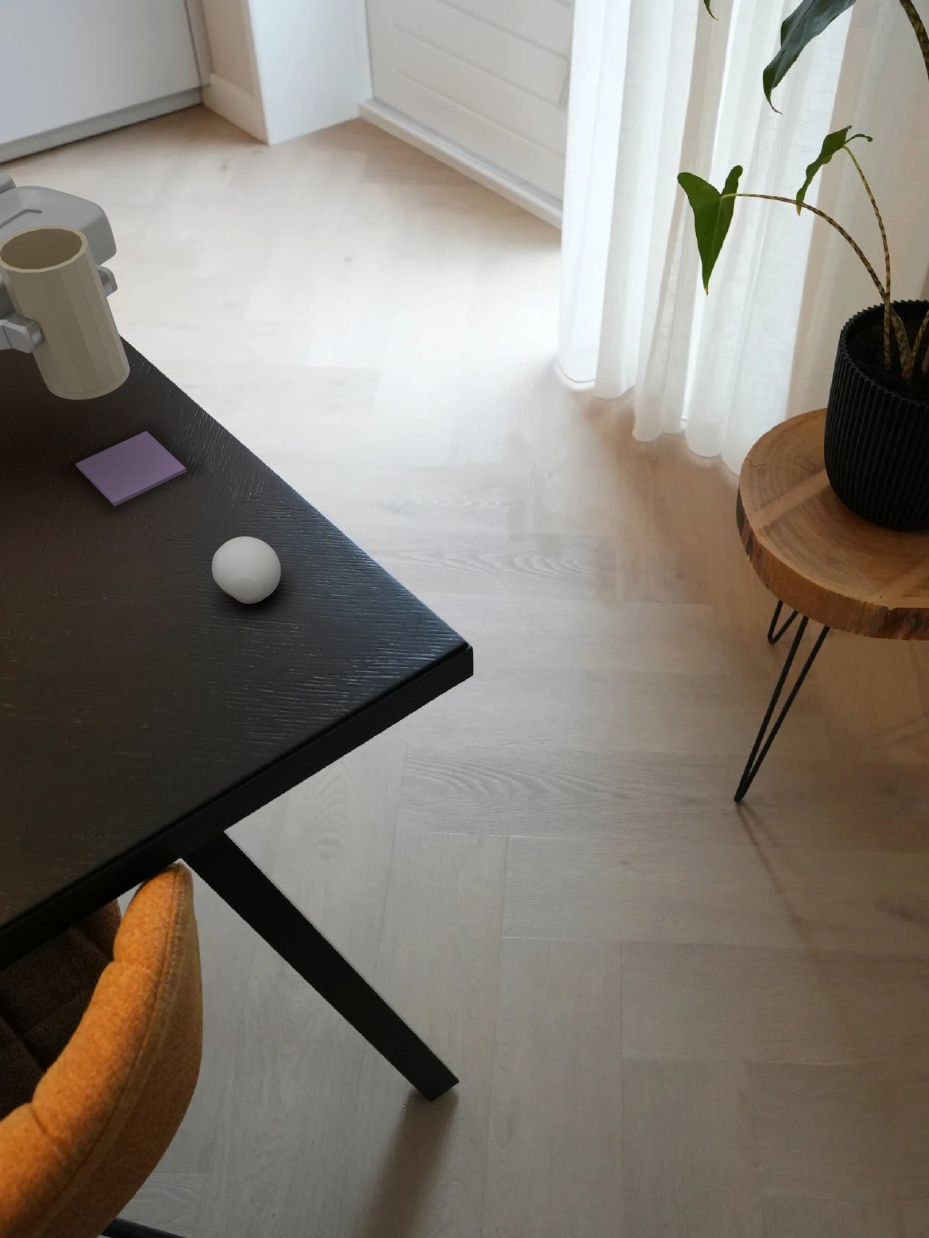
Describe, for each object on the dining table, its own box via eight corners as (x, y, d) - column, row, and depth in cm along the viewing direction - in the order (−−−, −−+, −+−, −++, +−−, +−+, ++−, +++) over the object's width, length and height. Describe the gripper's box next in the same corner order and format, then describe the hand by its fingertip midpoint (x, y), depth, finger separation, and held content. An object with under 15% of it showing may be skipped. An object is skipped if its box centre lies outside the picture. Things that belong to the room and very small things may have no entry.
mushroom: (218, 578, 86) (202, 529, 83) (282, 566, 87) (269, 516, 83) (224, 624, 83) (208, 575, 80) (290, 611, 84) (277, 562, 80)
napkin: (114, 507, 91) (113, 503, 91) (76, 467, 95) (74, 463, 94) (187, 471, 94) (185, 468, 94) (147, 434, 97) (146, 430, 97)
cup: (36, 400, 82) (-17, 272, 74) (56, 352, 86) (7, 225, 78) (120, 399, 82) (76, 271, 74) (137, 351, 86) (96, 224, 78)
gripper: (-214, 291, 75) (-59, 348, 71) (12, 161, 86) (155, 203, 83) (-167, 373, 80) (-20, 430, 76) (41, 239, 91) (177, 282, 87)
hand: (73, 310), depth 79 cm, fingers closed on cup, 6 cm apart
